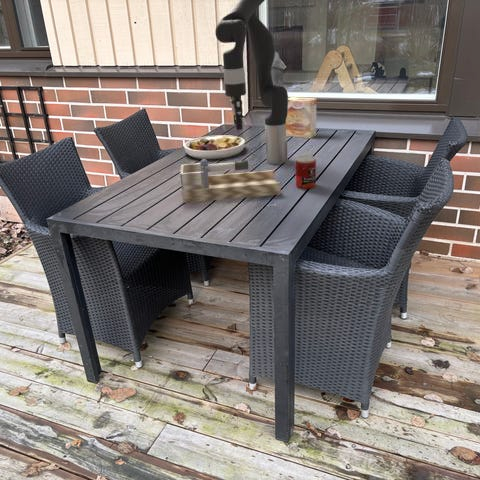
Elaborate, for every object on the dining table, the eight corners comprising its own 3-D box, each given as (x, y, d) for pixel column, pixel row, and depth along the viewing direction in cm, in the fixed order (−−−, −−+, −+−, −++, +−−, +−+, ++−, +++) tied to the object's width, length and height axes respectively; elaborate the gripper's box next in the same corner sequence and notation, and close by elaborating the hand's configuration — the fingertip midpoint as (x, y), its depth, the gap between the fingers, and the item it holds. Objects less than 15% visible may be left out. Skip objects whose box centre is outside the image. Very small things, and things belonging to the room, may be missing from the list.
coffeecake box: (285, 136, 258) (284, 99, 250) (291, 133, 263) (291, 96, 255) (310, 138, 250) (310, 100, 242) (316, 135, 255) (316, 98, 247)
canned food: (303, 190, 181) (303, 162, 177) (291, 185, 188) (291, 157, 183) (319, 186, 184) (320, 158, 180) (307, 181, 191) (307, 154, 186)
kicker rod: (249, 181, 187) (248, 153, 182) (250, 185, 183) (249, 157, 178) (202, 185, 186) (200, 157, 181) (202, 189, 182) (200, 161, 177)
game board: (274, 180, 194) (273, 155, 189) (280, 194, 179) (279, 167, 175) (184, 188, 192) (181, 163, 187) (183, 202, 177) (180, 175, 173)
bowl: (189, 146, 253) (187, 131, 249) (245, 143, 251) (244, 128, 248) (181, 162, 226) (179, 146, 222) (244, 159, 224) (243, 143, 221)
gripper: (247, 83, 164) (250, 130, 172) (243, 77, 177) (245, 121, 184) (226, 85, 164) (229, 132, 171) (222, 79, 177) (226, 123, 184)
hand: (238, 126), depth 178 cm, fingers open, 8 cm apart
